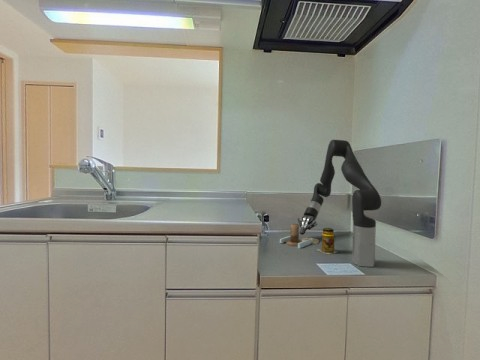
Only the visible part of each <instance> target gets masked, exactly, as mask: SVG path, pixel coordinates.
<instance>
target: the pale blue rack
mask: <svg viewBox="0 0 480 360" xmlns="http://www.w3.org/2000/svg"><path fill="white" fill-rule="evenodd" d="M290 237H291V235H288V236H285V237H282V238H279V244H280V243H282V244H284V242H285V243H286V241H287V240H290ZM310 238H311V239H308V240H306V241H303V242H300V243H298V246H297V249H302V248H304V247H306V246H309V245H312V244H311V243H312V242H313V238H312V237H310ZM299 240H300V241H302V239H299Z"/></svg>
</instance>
